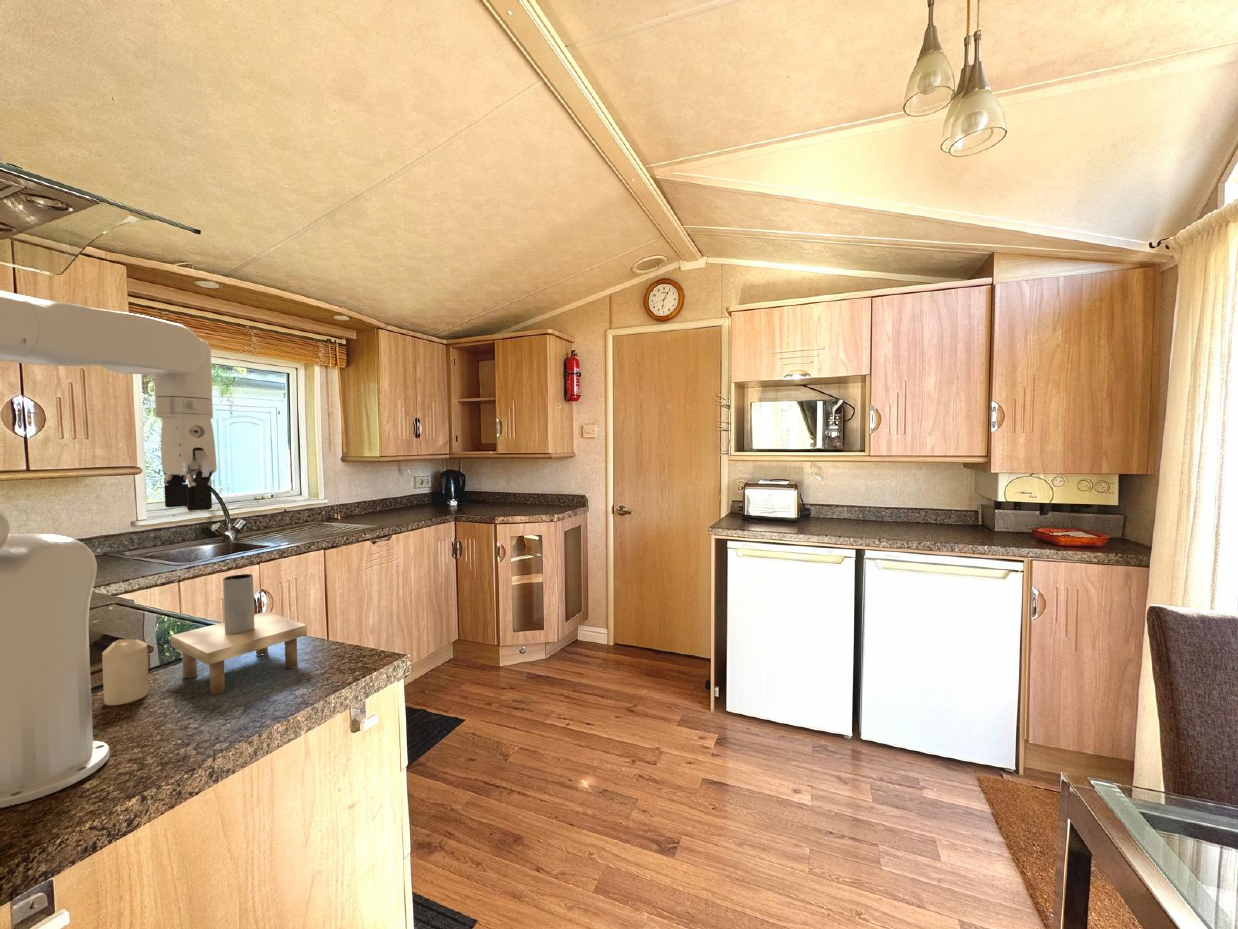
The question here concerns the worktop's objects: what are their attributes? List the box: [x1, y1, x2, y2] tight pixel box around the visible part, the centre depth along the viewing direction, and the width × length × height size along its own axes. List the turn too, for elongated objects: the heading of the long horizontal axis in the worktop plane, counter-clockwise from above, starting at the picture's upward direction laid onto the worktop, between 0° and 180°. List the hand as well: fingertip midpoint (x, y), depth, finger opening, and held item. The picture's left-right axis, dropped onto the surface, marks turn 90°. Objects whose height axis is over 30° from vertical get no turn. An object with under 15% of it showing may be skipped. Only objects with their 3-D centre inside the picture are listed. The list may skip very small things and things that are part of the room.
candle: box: [101, 638, 150, 706], centre depth 87 cm, size 6×6×10 cm
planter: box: [222, 573, 255, 634], centre depth 96 cm, size 4×4×10 cm
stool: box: [170, 611, 308, 696], centre depth 97 cm, size 16×16×8 cm
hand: (188, 508), depth 88 cm, fingers open, 9 cm apart
